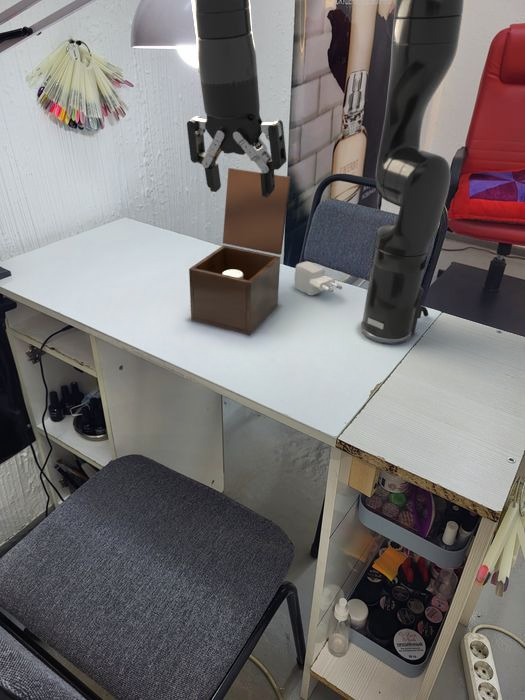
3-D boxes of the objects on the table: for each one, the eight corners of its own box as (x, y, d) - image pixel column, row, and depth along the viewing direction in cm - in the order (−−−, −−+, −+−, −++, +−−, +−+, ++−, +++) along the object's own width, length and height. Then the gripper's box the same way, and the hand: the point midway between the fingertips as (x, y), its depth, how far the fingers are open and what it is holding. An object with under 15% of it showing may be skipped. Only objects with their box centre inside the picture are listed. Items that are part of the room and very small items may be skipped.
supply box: (249, 335, 97) (251, 282, 91) (191, 320, 101) (188, 268, 96) (277, 305, 108) (280, 256, 102) (223, 292, 112) (223, 245, 106)
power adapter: (343, 301, 111) (346, 275, 107) (327, 307, 108) (330, 281, 105) (306, 283, 118) (308, 258, 115) (290, 288, 115) (292, 263, 112)
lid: (289, 177, 96) (290, 176, 96) (228, 168, 100) (230, 167, 101) (279, 254, 101) (281, 254, 102) (222, 243, 106) (224, 242, 106)
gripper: (289, 67, 68) (294, 186, 79) (194, 66, 73) (210, 178, 83) (267, 82, 63) (275, 208, 73) (167, 80, 68) (187, 198, 78)
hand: (241, 192), depth 78 cm, fingers open, 8 cm apart
